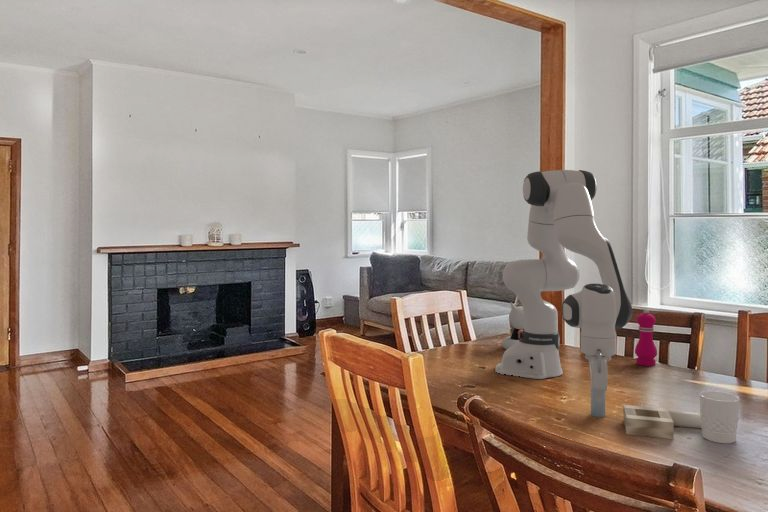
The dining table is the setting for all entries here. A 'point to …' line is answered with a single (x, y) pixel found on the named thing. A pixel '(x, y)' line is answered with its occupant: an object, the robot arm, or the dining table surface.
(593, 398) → the peg
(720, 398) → the white cup
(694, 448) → the dining table surface
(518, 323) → the decorative figurine
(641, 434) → the socket
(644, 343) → the pepper mill
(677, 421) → the lying peg
